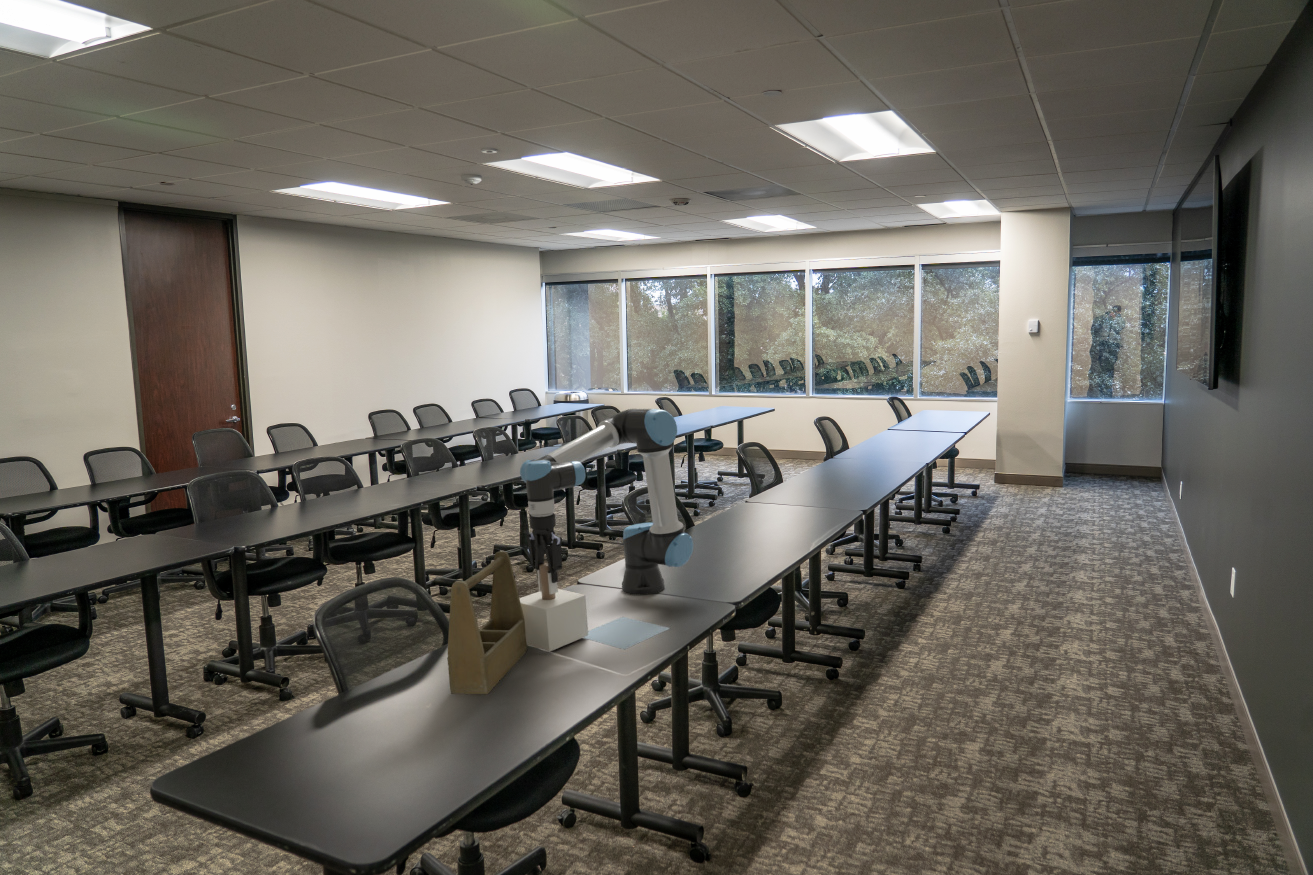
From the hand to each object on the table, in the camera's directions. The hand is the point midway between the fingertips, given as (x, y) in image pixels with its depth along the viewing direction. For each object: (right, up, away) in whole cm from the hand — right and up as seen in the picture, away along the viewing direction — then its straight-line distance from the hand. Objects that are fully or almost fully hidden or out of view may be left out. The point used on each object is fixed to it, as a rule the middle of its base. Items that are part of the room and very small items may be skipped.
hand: (548, 591), depth 245 cm
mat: (+22, -14, +6) cm, 26 cm away
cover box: (+1, -14, +2) cm, 14 cm away
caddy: (-13, -19, -17) cm, 29 cm away
